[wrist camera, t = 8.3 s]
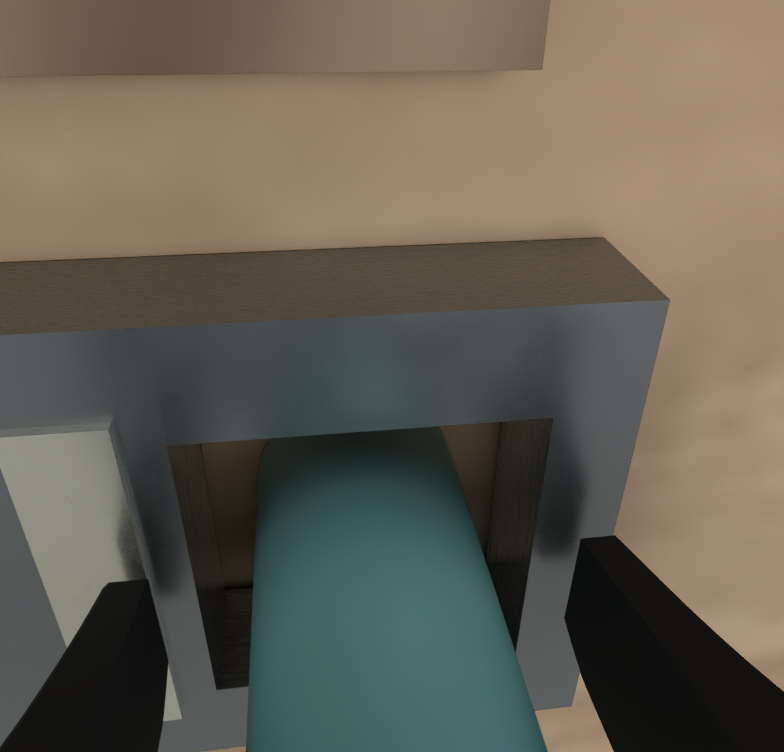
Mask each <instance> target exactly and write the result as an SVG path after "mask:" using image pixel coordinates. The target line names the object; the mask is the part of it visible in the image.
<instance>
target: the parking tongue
mask: <svg viewBox="0 0 784 752" xmlns="http://www.w3.org/2000/svg"><path fill="white" fill-rule="evenodd" d="M549 6H550V0H0V77H12V76H92V75H172V74H252V73H332V72H412V71H492V70H542V67H543V58H544V50H545V41H546V32H547V23H548V14H549Z"/></svg>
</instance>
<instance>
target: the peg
mask: <svg viewBox="0 0 784 752" xmlns="http://www.w3.org/2000/svg"><path fill="white" fill-rule="evenodd" d="M246 752H547V749H546V745H545V742H544V739H543V736H542V733H541V730H540V727H539V724H538V721H537V718H536V715H535V712H534V708H533V705H532V702H531V699H530V696H529V693H528V690H527V687H526V684H525V681H524V678H523V675H522V672H521V668H520V665H519V662H518V659H517V656H516V653H515V650H514V647H513V644H512V641H511V638H510V635H509V632H508V628H507V625H506V622H505V619H504V616H503V613H502V610H501V607H500V604H499V601H498V598H497V595H496V591H495V588H494V585H493V582H492V579H491V576H490V573H489V570H488V567H487V564H486V561H485V558H484V555H483V551H482V548H481V545H480V542H479V539H478V536H477V533H476V530H475V527H474V524H473V521H472V518H471V515H470V511H469V508H468V505H467V502H466V499H465V496H464V493H463V490H462V487H461V484H460V481H459V478H458V474H457V471H456V468H455V465H454V462H453V459H452V456H451V453H450V450H449V447H448V444H447V442H446V439H445V437H444V435H443V434H442V432H441V430H440V429H439V428H438V426H435V427H421V428H407V429H393V430H379V431H366V432H352V433H338V434H324V435H310V436H296V437H282V438H270V440H269V441H268V443H267V445H266V447H265V449H264V451H263V453H262V456H261V459H260V462H259V470H258V486H257V508H256V531H255V554H254V577H253V600H252V622H251V645H250V668H249V691H248V714H247V736H246Z"/></svg>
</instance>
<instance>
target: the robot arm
mask: <svg viewBox="0 0 784 752" xmlns="http://www.w3.org/2000/svg"><path fill="white" fill-rule="evenodd" d="M564 619H565V623H566V626H567V630H568V633H569V637H570V640H571V644H572V647H573V651H574V654H575V657H576V660H577V663H578V666H579V670H580V673H581V676H582V678H583V681H584V683H585V686H586V688H587V690H588V693H589V695H590V697H591V700H592V702H593V704H594V707H595V709H596V711H597V714H598V716H599V718H600V721H601V723H602V725H603V728H604V730H605V732H606V735H607V737H608V739H609V741H610V744H611V746H612V748H613V751H614V752H784V691H782V690H781V689H780V688H779V687H777V686H776V685H775V684H774V683H773V682H771V681H770V680H769V679H768V678H767V677H766V676H764V675H763V674H762V673H761V672H760V671H758V670H757V669H756V668H755V667H754V666H753V665H751V664H750V663H749V662H748V661H747V660H745V659H744V658H743V657H742V656H741V655H740V654H739V653H738V652H736V651H735V650H734V649H733V648H732V647H731V646H730V645H728V644H727V643H726V642H725V641H724V640H723V639H722V638H721V637H720V636H719V635H718V634H717V633H715V632H714V631H713V630H712V629H711V628H710V627H709V626H708V625H707V624H706V623H705V622H704V621H702V620H701V619H700V618H699V617H698V616H697V615H696V614H695V613H694V612H693V611H692V610H691V609H690V608H689V607H687V606H686V605H685V604H684V603H683V602H682V601H681V600H680V599H679V598H678V597H677V596H676V595H675V594H674V593H673V592H672V591H671V590H670V589H669V588H668V587H667V586H666V585H665V584H664V583H663V582H662V581H661V580H660V579H659V578H658V577H657V576H656V575H655V574H654V573H653V572H652V571H651V570H650V569H649V568H648V567H647V566H646V565H645V564H644V563H643V562H642V561H641V560H639V559H638V558H637V557H636V556H635V555H634V554H633V553H632V552H631V551H630V550H629V549H628V548H627V547H626V546H625V545H624V544H623V543H622V542H621V541H620V540H619V539H618V538H617V537H616V536H615V535H613V536H603V537H592V538H581V540H580V545H579V549H578V554H577V559H576V564H575V569H574V573H573V578H572V583H571V588H570V592H569V597H568V602H567V607H566V611H565V616H564ZM168 661H169V660H168V656H167V652H166V648H165V644H164V640H163V636H162V632H161V628H160V624H159V620H158V617H157V613H156V609H155V605H154V601H153V597H152V593H151V589H150V585H149V581H148V579H141V580H130V581H120V582H109V583H108V584H107V585H105V586H104V587H103V588H102V590H101V592H100V594H99V595H98V597H97V599H96V601H95V602H94V604H93V606H92V608H91V609H90V611H89V613H88V614H87V616H86V618H85V620H84V621H83V623H82V625H81V626H80V628H79V630H78V631H77V633H76V634H75V636H74V638H73V639H72V641H71V643H70V644H69V646H68V647H67V649H66V651H65V652H64V654H63V655H62V657H61V659H60V660H59V662H58V663H57V665H56V666H55V668H54V669H53V671H52V672H51V674H50V675H49V677H48V678H47V680H46V681H45V683H44V684H43V686H42V687H41V689H40V690H39V692H38V693H37V695H36V696H35V698H34V699H33V701H32V702H31V704H30V705H29V707H28V708H27V710H26V711H25V713H24V714H23V716H22V717H21V719H20V720H19V721H18V723H17V724H16V726H15V727H14V728H13V730H12V731H11V732H10V734H9V735H8V737H7V738H6V739H5V741H4V742H3V743H2V745H1V746H0V752H158V748H159V743H160V737H161V732H162V727H163V718H164V708H165V698H166V686H167V674H168Z"/></svg>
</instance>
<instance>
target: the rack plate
mask: <svg viewBox="0 0 784 752" xmlns="http://www.w3.org/2000/svg"><path fill="white" fill-rule="evenodd" d="M669 302H670V299H669V298H668V297H667V296H666V295H664V294H663V293H662V292H661V291H660V290H659V289H658V288H657V287H656V286H655V285H654V284H653V283H652V282H651V281H650V280H649V279H647V278H646V277H645V276H644V275H643V274H642V273H641V272H640V271H639V270H638V269H637V268H636V267H635V266H634V265H633V264H632V263H631V262H629V261H628V260H627V259H626V258H625V257H624V256H623V255H622V254H621V253H620V252H619V251H618V250H617V249H616V248H615V247H614V246H613V245H611V244H610V243H609V242H608V241H607V240H606V239H605V238H590V239H566V240H542V241H518V242H494V243H470V244H446V245H422V246H398V247H374V248H350V249H326V250H302V251H278V252H254V253H229V254H205V255H181V256H157V257H133V258H109V259H85V260H61V261H37V262H13V263H0V746H1V745H2V743H3V742H4V741H5V739H6V738H7V737H8V735H9V734H10V732H11V731H12V730H13V728H14V727H15V726H16V724H17V723H18V721H19V720H20V719H21V717H22V716H23V714H24V713H25V711H26V710H27V708H28V707H29V705H30V704H31V702H32V701H33V699H34V698H35V696H36V695H37V693H38V692H39V690H40V689H41V687H42V686H43V684H44V683H45V681H46V680H47V678H48V677H49V675H50V674H51V672H52V671H53V669H54V668H55V666H56V665H57V663H58V662H59V660H60V659H61V657H62V655H63V654H64V652H65V651H66V649H67V647H68V646H69V644H70V643H71V641H72V639H73V638H74V636H75V634H76V633H77V631H78V630H79V628H80V626H81V625H82V623H83V621H84V620H85V618H86V616H87V614H88V613H89V611H90V609H91V608H92V606H93V604H94V602H95V601H96V599H97V597H98V595H99V594H100V592H101V590H102V588H103V587H104V586H105V585H107V584H108V583H109V582H120V581H130V580H141V579H148V581H149V585H150V589H151V593H152V597H153V601H154V605H155V609H156V613H157V617H158V620H159V624H160V628H161V632H162V636H163V640H164V644H165V648H166V652H167V656H168V660H169V661H168V674H167V686H166V698H165V708H164V718H163V727H162V732H161V737H160V743H159V748H158V752H200V751H208V750H216V749H225V748H233V747H241V746H246V736H247V714H248V691H249V668H250V645H251V622H252V600H253V587H248V588H237V589H227V590H225V586H224V580H223V574H222V569H221V563H220V557H219V551H218V545H217V539H216V534H215V528H214V522H213V516H212V510H211V505H210V499H209V493H208V487H207V481H206V475H205V470H204V464H203V458H202V452H201V446H200V443H213V442H227V441H241V440H255V439H268V438H282V437H296V436H310V435H324V434H338V433H352V432H366V431H379V430H393V429H407V428H421V427H435V426H449V425H463V424H477V423H490V422H502V423H501V432H500V441H499V450H498V459H497V468H496V476H495V485H494V494H493V503H492V512H491V521H490V529H489V538H488V547H487V556H486V564H487V567H488V570H489V573H490V576H491V579H492V582H493V585H494V588H495V591H496V595H497V598H498V601H499V604H500V607H501V610H502V613H503V616H504V619H505V622H506V625H507V628H508V632H509V635H510V638H511V641H512V644H513V647H514V650H515V653H516V656H517V659H518V662H519V665H520V668H521V672H522V675H523V678H524V681H525V684H526V687H527V690H528V693H529V696H530V699H531V702H532V705H533V708H534V711H537V710H545V709H553V708H561V707H569V706H572V702H573V698H574V694H575V690H576V686H577V681H578V677H579V673H580V670H579V666H578V663H577V660H576V657H575V654H574V651H573V647H572V644H571V640H570V637H569V633H568V630H567V626H566V623H565V619H564V616H565V611H566V607H567V602H568V597H569V592H570V588H571V583H572V578H573V573H574V569H575V564H576V559H577V554H578V549H579V545H580V540H581V538H592V537H603V536H613V533H614V529H615V525H616V521H617V516H618V512H619V508H620V504H621V500H622V496H623V492H624V488H625V483H626V479H627V475H628V471H629V467H630V463H631V459H632V455H633V451H634V446H635V442H636V438H637V434H638V430H639V426H640V422H641V418H642V413H643V409H644V405H645V401H646V397H647V393H648V389H649V385H650V380H651V376H652V372H653V368H654V364H655V360H656V356H657V352H658V347H659V343H660V339H661V335H662V331H663V327H664V323H665V319H666V314H667V310H668V306H669Z"/></svg>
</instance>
